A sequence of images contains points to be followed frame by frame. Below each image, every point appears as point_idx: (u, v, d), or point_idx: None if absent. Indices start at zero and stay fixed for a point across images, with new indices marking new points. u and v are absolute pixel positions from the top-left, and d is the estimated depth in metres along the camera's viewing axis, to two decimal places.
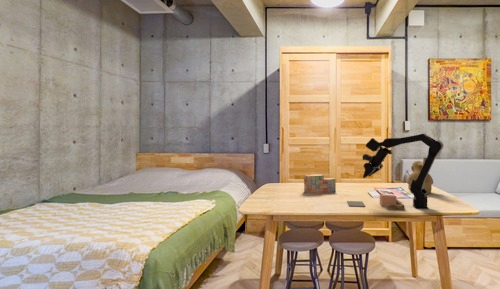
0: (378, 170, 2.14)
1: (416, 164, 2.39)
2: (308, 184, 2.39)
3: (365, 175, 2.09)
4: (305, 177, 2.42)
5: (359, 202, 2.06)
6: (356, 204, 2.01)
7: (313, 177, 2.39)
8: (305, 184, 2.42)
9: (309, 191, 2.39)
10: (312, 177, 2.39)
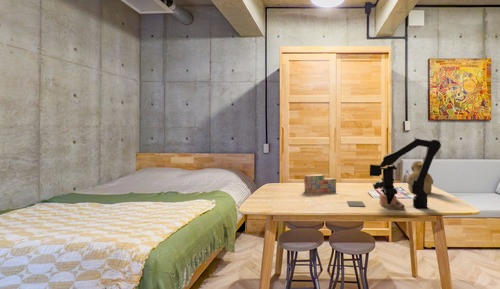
0: None
1: (416, 164, 2.39)
2: (308, 184, 2.39)
3: (389, 200, 1.98)
4: (305, 177, 2.42)
5: (359, 202, 2.06)
6: (356, 204, 2.01)
7: (313, 177, 2.40)
8: (305, 184, 2.42)
9: (309, 191, 2.39)
10: (312, 177, 2.39)
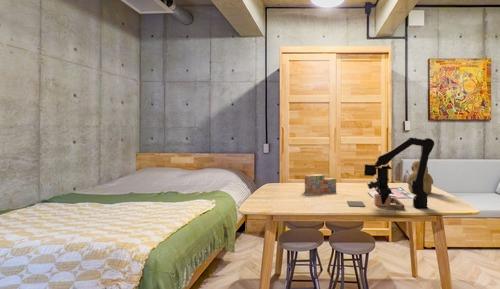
0: None
1: (416, 164, 2.39)
2: (309, 184, 2.39)
3: (384, 200, 1.98)
4: (306, 177, 2.42)
5: (359, 202, 2.06)
6: (356, 204, 2.01)
7: (314, 177, 2.40)
8: (306, 184, 2.42)
9: (310, 191, 2.40)
10: (313, 177, 2.39)
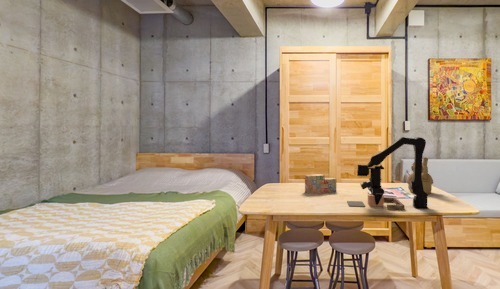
0: None
1: None
2: (309, 184, 2.39)
3: (377, 201, 1.97)
4: (306, 177, 2.42)
5: (359, 202, 2.06)
6: (356, 204, 2.01)
7: (314, 177, 2.40)
8: (306, 184, 2.42)
9: (310, 191, 2.40)
10: (313, 177, 2.39)
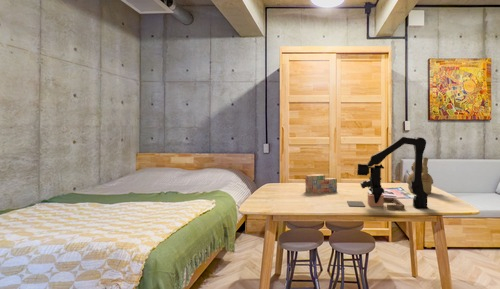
0: None
1: None
2: (309, 184, 2.39)
3: (377, 199, 1.99)
4: (306, 177, 2.42)
5: (359, 202, 2.06)
6: (356, 204, 2.01)
7: (314, 177, 2.40)
8: (306, 184, 2.42)
9: (310, 191, 2.40)
10: (313, 177, 2.40)
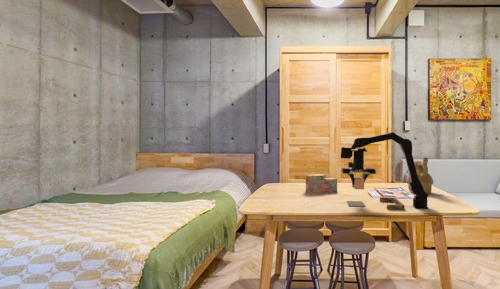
0: (365, 175, 2.00)
1: (416, 164, 2.39)
2: (310, 184, 2.39)
3: (352, 181, 2.03)
4: (307, 177, 2.42)
5: (359, 202, 2.06)
6: (356, 204, 2.01)
7: (315, 177, 2.40)
8: (307, 184, 2.43)
9: (311, 191, 2.40)
10: (314, 177, 2.40)
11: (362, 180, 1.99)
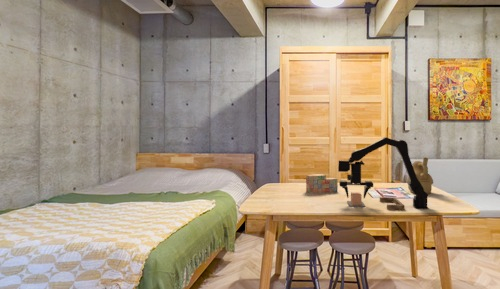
0: (366, 188, 2.00)
1: (416, 164, 2.39)
2: (310, 184, 2.40)
3: None
4: (307, 177, 2.42)
5: None
6: None
7: (315, 177, 2.40)
8: (307, 184, 2.43)
9: (311, 191, 2.40)
10: (314, 177, 2.40)
11: (359, 196, 2.00)
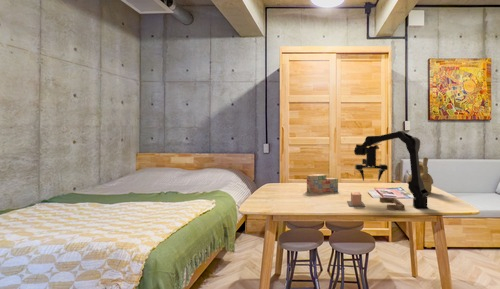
0: (381, 171, 2.13)
1: None
2: (311, 184, 2.40)
3: (362, 177, 2.17)
4: (308, 177, 2.43)
5: None
6: None
7: (316, 177, 2.40)
8: (308, 184, 2.43)
9: (312, 191, 2.40)
10: (315, 177, 2.40)
11: (359, 196, 2.00)
